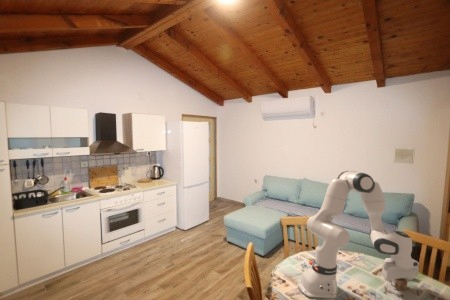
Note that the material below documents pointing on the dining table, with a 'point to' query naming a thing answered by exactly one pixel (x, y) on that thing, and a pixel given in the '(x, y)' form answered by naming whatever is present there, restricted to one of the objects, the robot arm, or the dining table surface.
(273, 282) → the dining table surface
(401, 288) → the walnut block
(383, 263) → the die
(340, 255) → the dining table surface
